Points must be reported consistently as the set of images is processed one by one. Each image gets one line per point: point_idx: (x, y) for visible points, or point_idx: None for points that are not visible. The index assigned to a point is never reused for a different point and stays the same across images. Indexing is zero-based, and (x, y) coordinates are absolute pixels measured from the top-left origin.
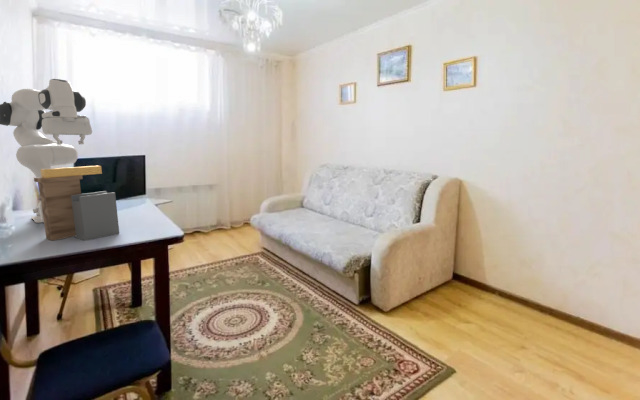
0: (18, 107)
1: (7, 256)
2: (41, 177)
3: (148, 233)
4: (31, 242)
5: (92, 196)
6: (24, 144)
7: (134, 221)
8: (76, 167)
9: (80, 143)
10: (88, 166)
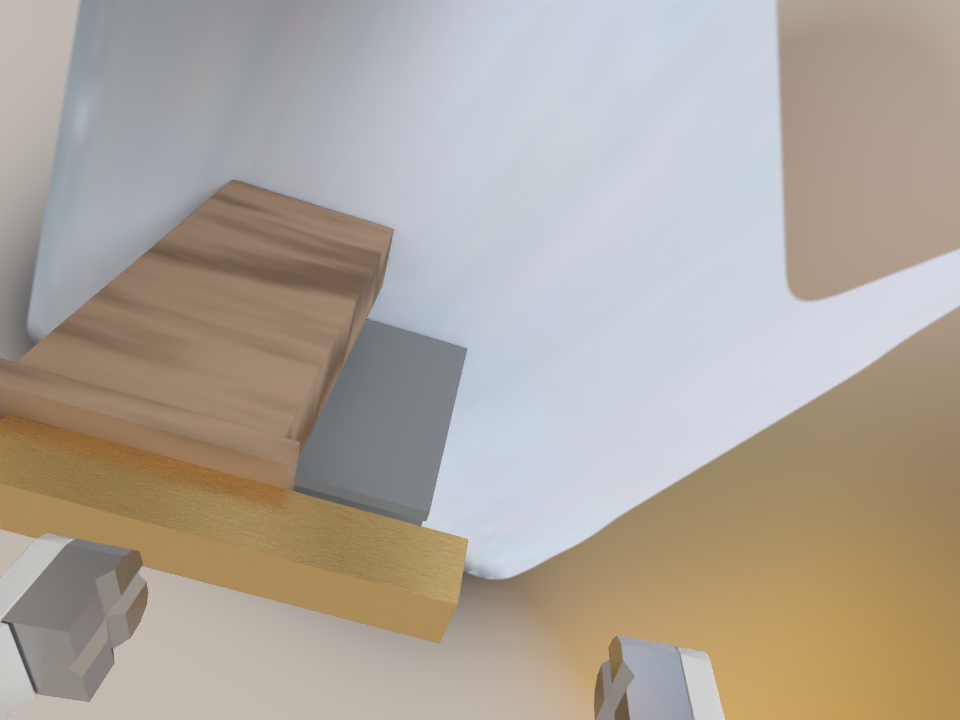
0: None
1: (42, 266)
2: (11, 398)
3: (486, 499)
4: (166, 163)
5: None
6: None
7: (683, 324)
8: (232, 583)
9: (597, 698)
10: (350, 599)
